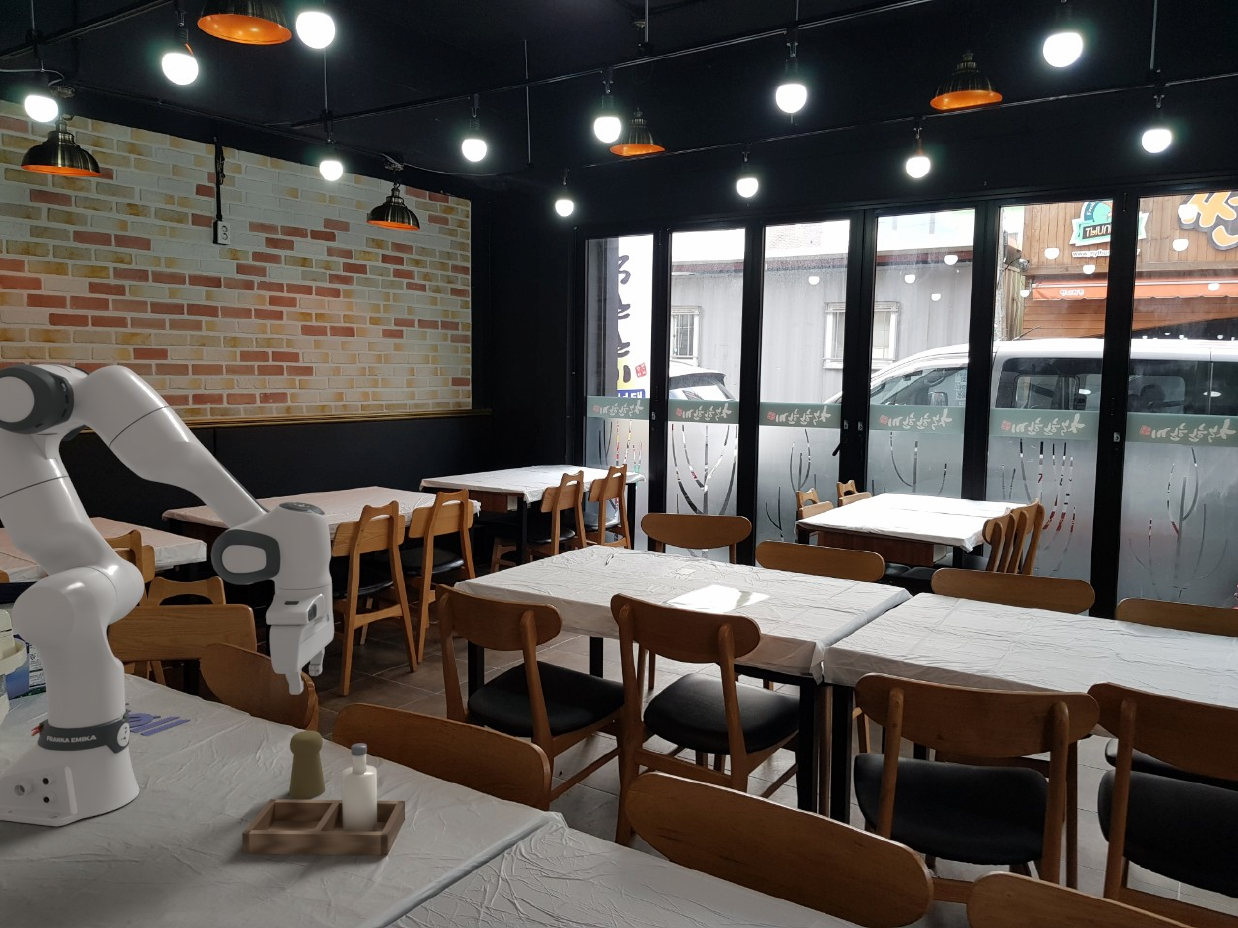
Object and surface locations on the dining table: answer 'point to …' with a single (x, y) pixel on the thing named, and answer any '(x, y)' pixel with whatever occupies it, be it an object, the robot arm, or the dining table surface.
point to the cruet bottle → (359, 793)
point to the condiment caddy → (319, 829)
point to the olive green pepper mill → (306, 765)
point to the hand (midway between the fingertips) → (306, 683)
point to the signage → (147, 719)
